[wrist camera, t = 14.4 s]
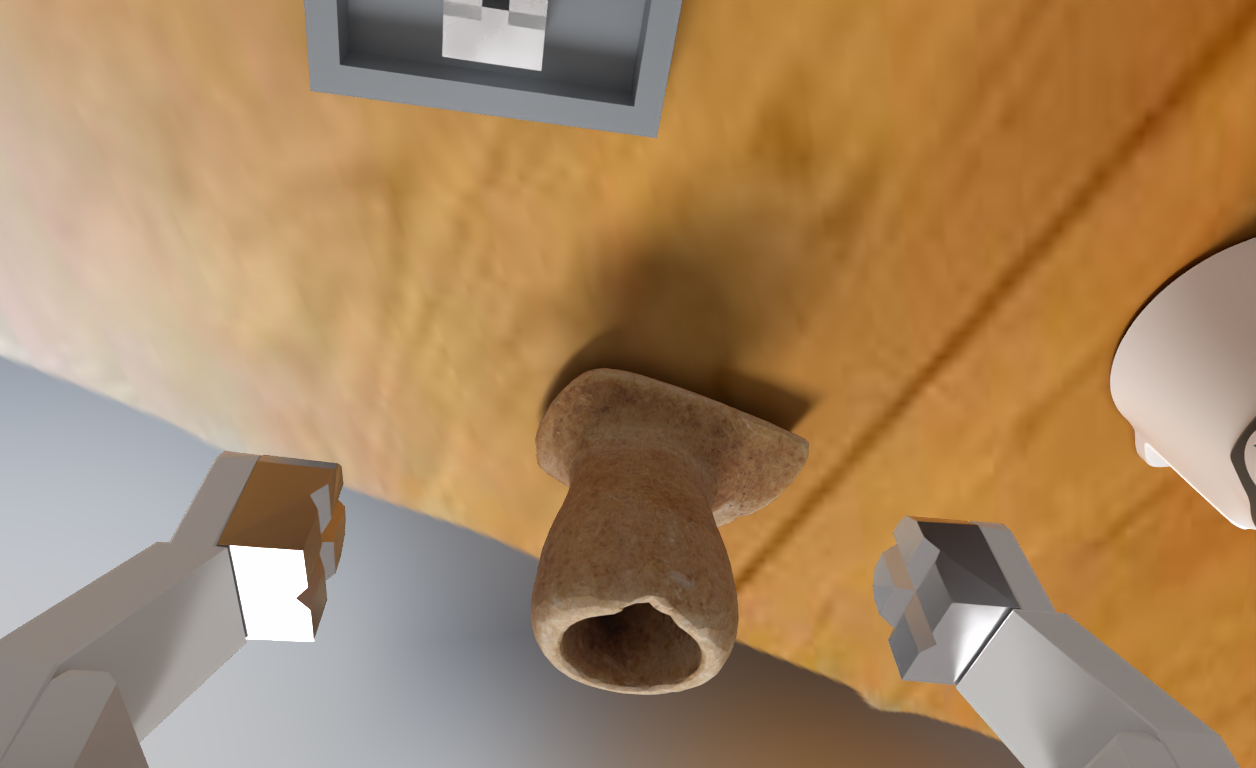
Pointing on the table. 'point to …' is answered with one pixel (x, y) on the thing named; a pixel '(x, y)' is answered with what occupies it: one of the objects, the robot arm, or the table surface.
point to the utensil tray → (558, 94)
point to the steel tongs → (495, 31)
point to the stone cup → (648, 528)
